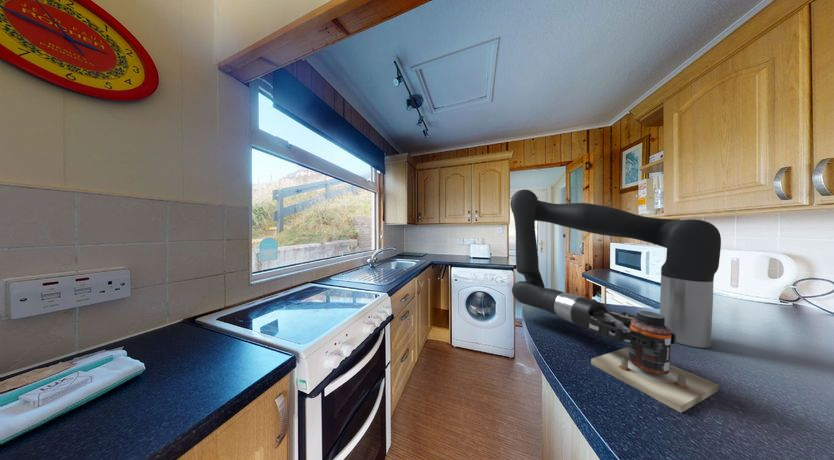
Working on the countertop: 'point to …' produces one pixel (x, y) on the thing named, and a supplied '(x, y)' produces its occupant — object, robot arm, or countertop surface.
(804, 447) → the countertop surface
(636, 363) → the supplement bottle
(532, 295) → the robot arm
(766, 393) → the countertop surface
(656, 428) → the countertop surface
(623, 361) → the pin board
